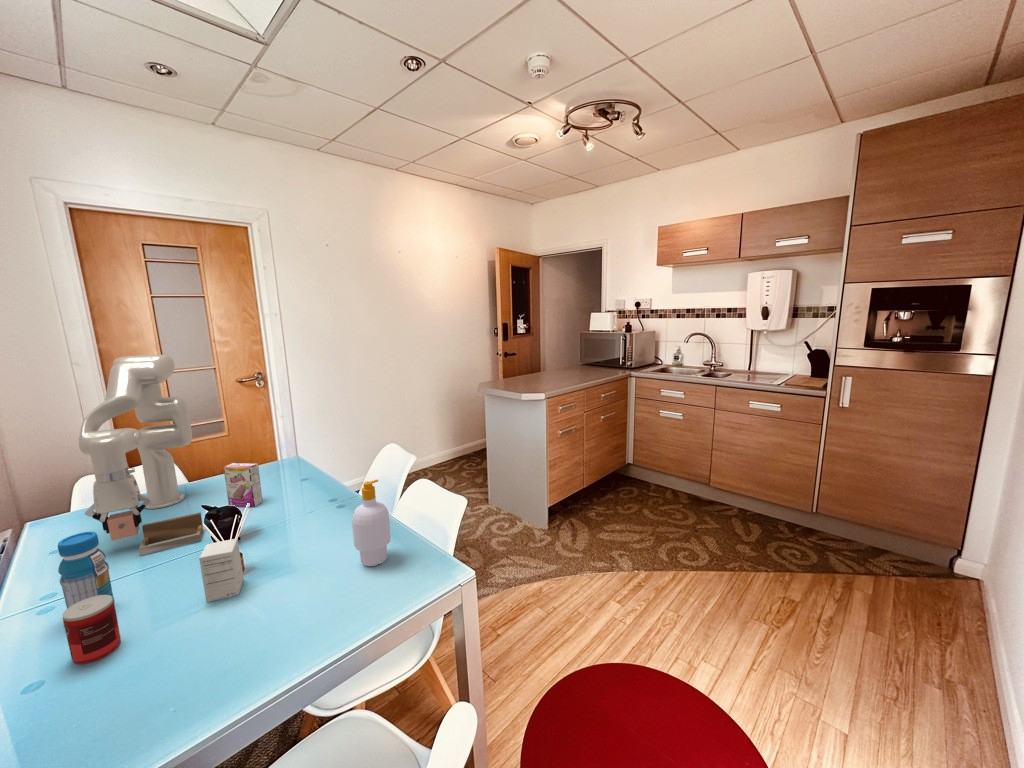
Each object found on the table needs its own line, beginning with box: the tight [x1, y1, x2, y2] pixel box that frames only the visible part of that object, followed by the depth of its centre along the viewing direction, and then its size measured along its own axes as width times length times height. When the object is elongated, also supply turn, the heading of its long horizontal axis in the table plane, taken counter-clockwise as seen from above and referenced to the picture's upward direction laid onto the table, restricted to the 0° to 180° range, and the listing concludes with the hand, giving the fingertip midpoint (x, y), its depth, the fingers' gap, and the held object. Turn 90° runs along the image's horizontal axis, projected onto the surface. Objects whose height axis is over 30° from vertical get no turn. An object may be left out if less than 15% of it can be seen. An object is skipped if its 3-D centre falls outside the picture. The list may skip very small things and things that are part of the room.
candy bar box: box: [223, 462, 264, 508], centre depth 162 cm, size 11×5×16 cm, turn 84°
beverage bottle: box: [57, 531, 116, 609], centre depth 102 cm, size 8×8×20 cm
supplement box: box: [198, 538, 244, 603], centre depth 110 cm, size 7×7×13 cm
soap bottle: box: [351, 479, 391, 567], centre depth 121 cm, size 10×10×24 cm
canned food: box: [62, 595, 122, 665], centre depth 90 cm, size 8×8×11 cm
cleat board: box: [138, 512, 204, 557], centre depth 135 cm, size 9×15×6 cm, turn 122°
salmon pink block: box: [107, 510, 140, 542], centre depth 131 cm, size 5×6×7 cm
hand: (123, 527), depth 131 cm, fingers closed on salmon pink block, 6 cm apart
